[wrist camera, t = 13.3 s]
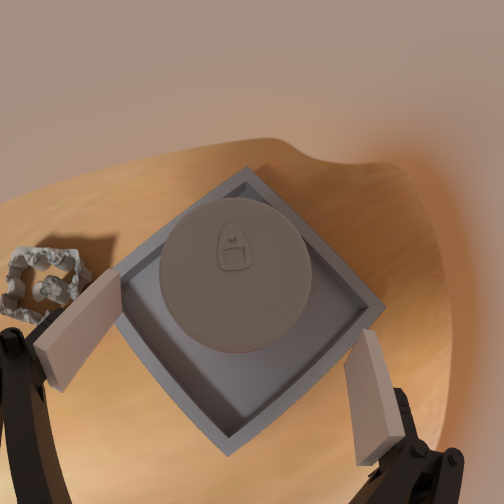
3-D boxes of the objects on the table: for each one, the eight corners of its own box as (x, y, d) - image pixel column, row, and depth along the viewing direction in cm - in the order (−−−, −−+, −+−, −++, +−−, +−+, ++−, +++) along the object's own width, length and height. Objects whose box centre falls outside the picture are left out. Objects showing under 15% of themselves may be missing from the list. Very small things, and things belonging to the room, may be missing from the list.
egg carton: (15, 320, 24) (-9, 313, 20) (26, 255, 26) (4, 242, 22) (89, 335, 24) (67, 331, 20) (99, 259, 26) (80, 245, 22)
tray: (102, 292, 25) (90, 286, 23) (246, 180, 30) (247, 166, 27) (228, 447, 21) (227, 456, 19) (374, 311, 26) (386, 307, 23)
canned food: (258, 247, 26) (270, 177, 16) (298, 329, 24) (341, 309, 14) (177, 280, 25) (137, 227, 15) (213, 367, 23) (192, 377, 12)
